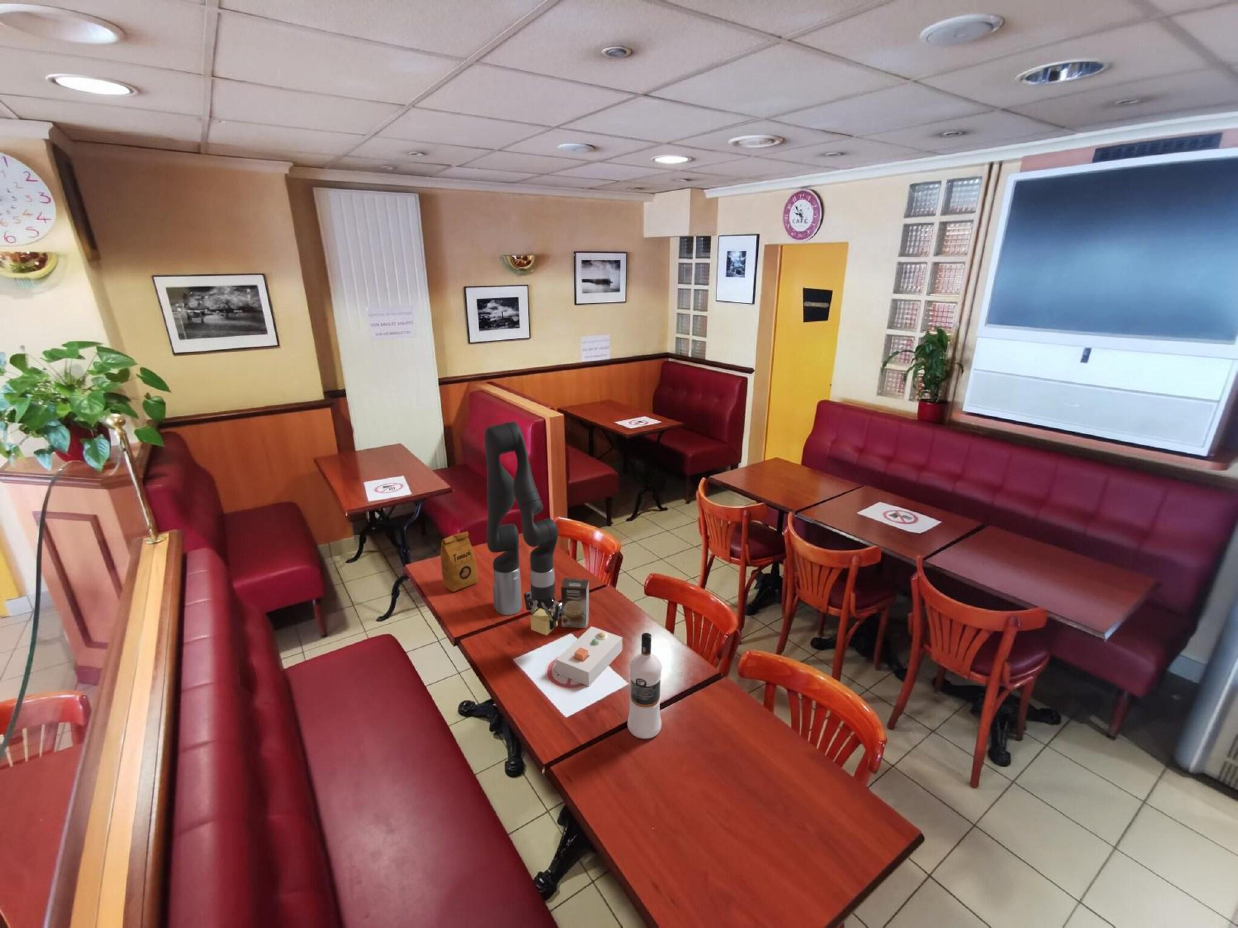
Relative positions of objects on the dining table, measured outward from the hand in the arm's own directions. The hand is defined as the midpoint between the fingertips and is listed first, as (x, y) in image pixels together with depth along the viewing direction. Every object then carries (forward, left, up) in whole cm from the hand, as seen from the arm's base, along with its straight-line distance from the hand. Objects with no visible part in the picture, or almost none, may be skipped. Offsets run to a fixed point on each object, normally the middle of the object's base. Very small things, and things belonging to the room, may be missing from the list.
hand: (544, 625), depth 188 cm
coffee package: (-54, +17, -11) cm, 57 cm away
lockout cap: (0, 0, -1) cm, 1 cm away
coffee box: (-1, +19, -11) cm, 21 cm away
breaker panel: (+15, +4, -10) cm, 19 cm away
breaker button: (+15, -1, -8) cm, 17 cm away
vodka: (+43, -12, -10) cm, 46 cm away
